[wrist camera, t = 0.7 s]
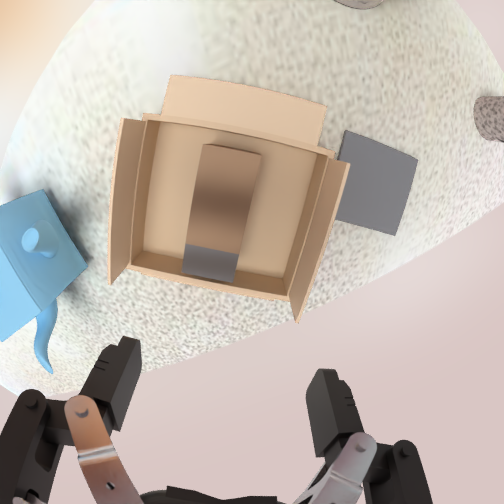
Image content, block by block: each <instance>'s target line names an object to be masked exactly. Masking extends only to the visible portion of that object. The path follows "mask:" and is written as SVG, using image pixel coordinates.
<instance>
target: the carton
mask: <svg viewBox="0 0 504 504" xmlns="http://www.w3.org/2000/svg"><path fill="white" fill-rule="evenodd" d="M326 109H327V106H325V105H322V104H318V103H315V102H312V101H309V100H305V99H302V98H298V97H294V96H291V95H287V94H283V93H279V92H275V91H271V90H266V89H262V88H257V87H253V86H248V85H243V84H237V83H232V82H226V81H219V80H213V79H205V78H198V77H189V76H179V75H170V79H169V83H168V86H167V90H166V95H165V99H164V103H163V107H162V112H161V115H159V114H149V113H143V117H142V121H140V120H133V119H126V118H121V120H120V125H119V131H118V137H117V143H116V150H115V157H114V164H113V172H112V181H111V192H110V204H109V220H108V285H111V284H112V283H113V282H114V281H115V280H116V278H117V277H118V276H119V275H120V274H121V272H122V271H123V270H124V269H125V268H126V269H130V270H134V271H138V272H141V274H143V275H147V276H151V277H156V278H160V279H165V280H169V281H174V282H178V283H183V284H188V285H193V286H197V287H202V288H207V289H212V290H217V291H222V292H227V293H233V294H238V295H243V296H249V297H254V298H260V299H265V300H271V301H274V299H277V300H282V301H288V302H290V303H291V307H292V311H293V315H294V319H295V323H299V321H300V318H301V315H302V313H303V310H304V308H305V305H306V302H307V299H308V297H309V294H310V291H311V289H312V286H313V283H314V280H315V277H316V274H317V272H318V269H319V266H320V263H321V260H322V257H323V254H324V251H325V248H326V245H327V242H328V239H329V236H330V233H331V230H332V226H333V223H334V220H335V217H336V213H337V210H338V207H339V203H340V200H341V197H342V193H343V190H344V186H345V183H346V179H347V176H348V172H349V168H350V163H347V162H343V161H339V160H334V155H335V151H332V150H329V149H325V148H322V147H319V146H318V142H319V138H320V134H321V130H322V126H323V122H324V117H325V113H326ZM203 144H217V145H222V146H227V147H232V148H237V149H242V150H247V151H252V152H256V153H259V154H261V155H262V159H261V163H260V167H259V171H258V175H257V180H256V184H255V188H254V192H253V197H252V201H251V205H250V210H249V214H248V218H247V223H246V227H245V231H244V236H243V240H242V245H241V249H240V253H239V258H238V262H237V267H236V271H235V276H234V280H233V283H231V282H225V281H220V280H215V279H210V278H205V277H201V276H196V275H191V274H186V273H181V272H182V265H183V257H184V250H185V243H186V236H187V229H188V223H189V216H190V210H191V204H192V198H193V193H194V187H195V181H196V176H197V171H198V166H199V161H200V156H201V151H202V146H203Z"/></svg>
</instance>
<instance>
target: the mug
mask: <svg viewBox="0 0 504 504" xmlns="http://www.w3.org/2000/svg"><path fill="white" fill-rule="evenodd" d="M474 120H475V124H476V127H477V129H478V131H479V133H480V134H481V135H482V137H483V138H485V139H486V140H491V141H498V142H504V97H480V98H478V99H477V100H476V102H475V105H474Z"/></svg>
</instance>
